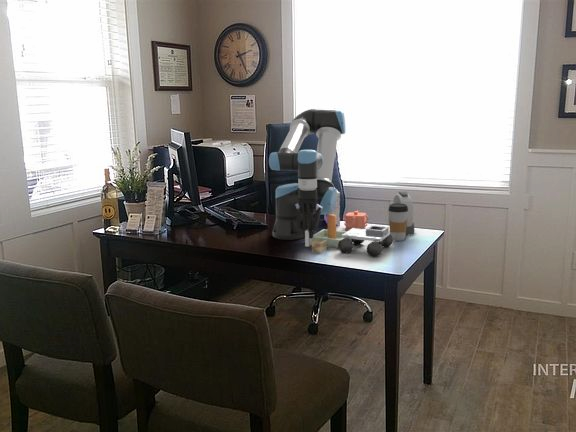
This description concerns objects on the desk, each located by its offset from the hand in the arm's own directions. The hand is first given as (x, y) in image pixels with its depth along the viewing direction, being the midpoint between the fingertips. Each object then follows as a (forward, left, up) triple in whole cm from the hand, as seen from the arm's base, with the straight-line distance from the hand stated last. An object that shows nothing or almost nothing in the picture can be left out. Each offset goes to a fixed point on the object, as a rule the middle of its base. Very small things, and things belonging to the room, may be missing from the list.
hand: (308, 245), depth 224 cm
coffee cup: (+29, +29, -2) cm, 41 cm away
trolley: (+22, +8, -2) cm, 24 cm away
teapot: (+6, +39, -2) cm, 40 cm away
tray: (+5, +13, -2) cm, 14 cm away
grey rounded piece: (+27, +43, -2) cm, 51 cm away
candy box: (-9, +46, -2) cm, 47 cm away
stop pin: (+5, +13, -1) cm, 14 cm away
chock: (+5, 0, -2) cm, 5 cm away
